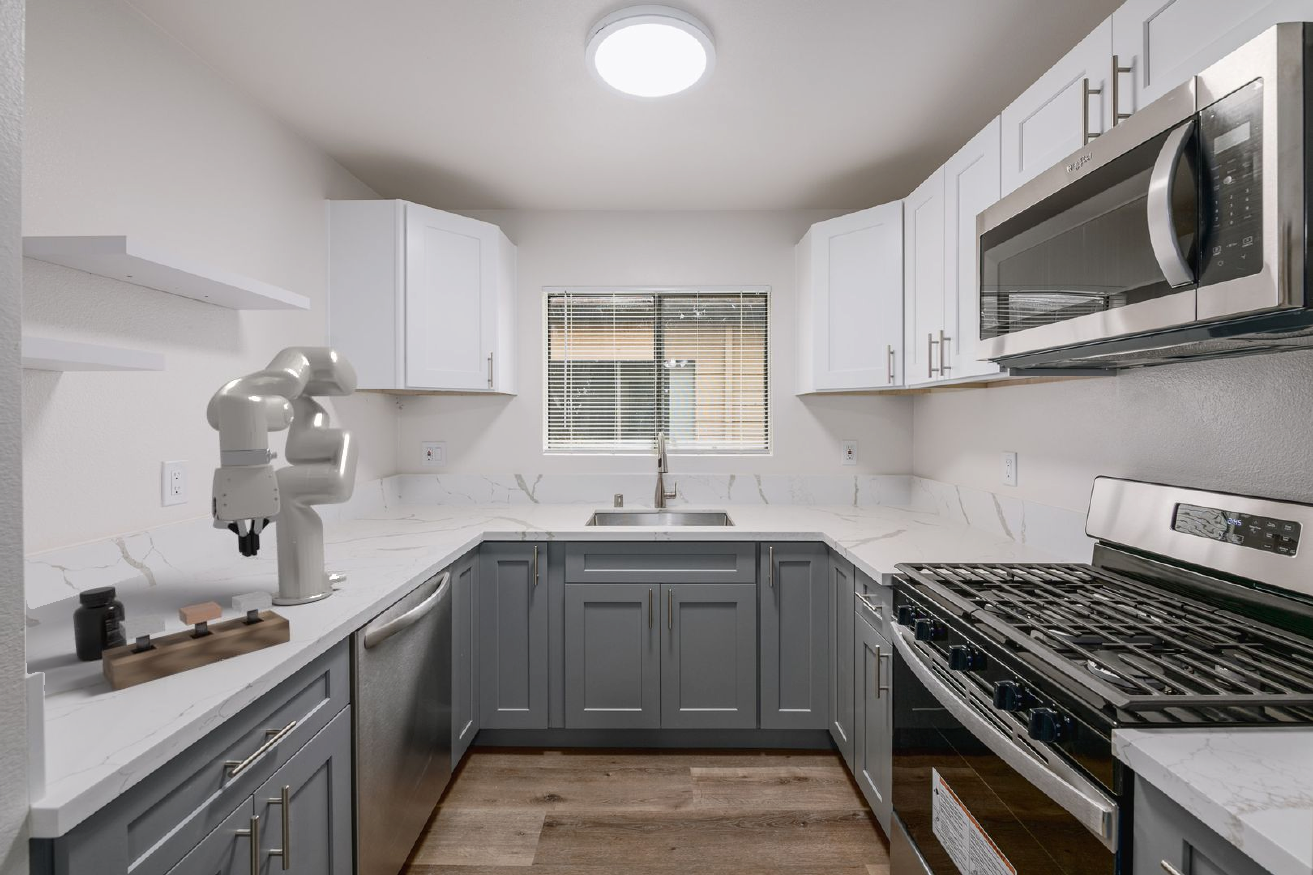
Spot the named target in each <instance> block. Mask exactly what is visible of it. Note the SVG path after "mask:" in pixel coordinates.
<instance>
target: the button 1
mask: <svg viewBox="0 0 1313 875" xmlns="http://www.w3.org/2000/svg"><path fill="white" fill-rule="evenodd" d="M165 620H166V619H165V618H163V617H162V616H161V615H160V614H159V613H153V614H149V615H144V616H139V617H134V618H130V619H125V621H120V622H119V628H120V634H121V635H122V636H123V637H124V638H125V640H127V641H128V640H129V641H130V640H133V639H135V643H136V651H137V654H138V653H142V652H146V651H150V650H151V647H150V639H151V635H154V634H157V633H162V632H166V622H165Z"/></svg>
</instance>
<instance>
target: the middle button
mask: <svg viewBox="0 0 1313 875" xmlns="http://www.w3.org/2000/svg"><path fill="white" fill-rule="evenodd" d="M178 613H179V614H178V616H179V618H178V619H179V621H180V622H182V623H184V625H185V626H187V627H188V626H193V625H194V629H195V639H197V638H201V637H205V636H208V628H207V625H208V622H209V621H212V620H217V619H220V618H222V616H223V615H222V614H223V613H222V606H221V605H220V604H218V603H216V602H215V601H207V602H204V603H199V604H194V605H190V606H186V607H181V608H178Z"/></svg>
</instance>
